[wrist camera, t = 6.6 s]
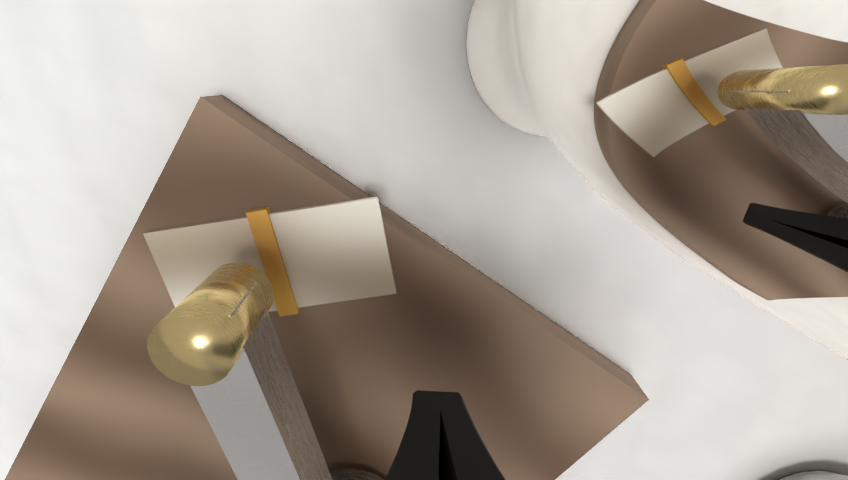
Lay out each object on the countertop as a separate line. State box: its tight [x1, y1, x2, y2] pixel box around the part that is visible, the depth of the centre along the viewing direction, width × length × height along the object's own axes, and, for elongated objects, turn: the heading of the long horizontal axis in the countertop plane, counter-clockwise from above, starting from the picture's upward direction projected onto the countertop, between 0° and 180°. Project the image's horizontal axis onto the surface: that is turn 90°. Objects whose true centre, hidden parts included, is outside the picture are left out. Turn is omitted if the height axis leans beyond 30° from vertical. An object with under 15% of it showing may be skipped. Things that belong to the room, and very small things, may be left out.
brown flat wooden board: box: [5, 95, 649, 480], centre depth 18 cm, size 21×20×2 cm
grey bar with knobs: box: [147, 262, 384, 480], centre depth 14 cm, size 16×5×6 cm, turn 11°
